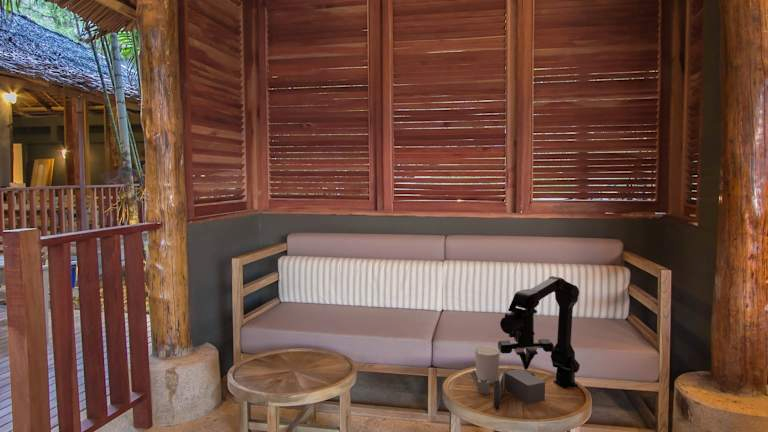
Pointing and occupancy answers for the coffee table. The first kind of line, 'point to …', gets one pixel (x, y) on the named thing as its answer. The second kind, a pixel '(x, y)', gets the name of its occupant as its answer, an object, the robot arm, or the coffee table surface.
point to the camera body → (524, 386)
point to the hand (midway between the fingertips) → (525, 369)
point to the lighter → (481, 383)
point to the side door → (498, 390)
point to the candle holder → (487, 363)
